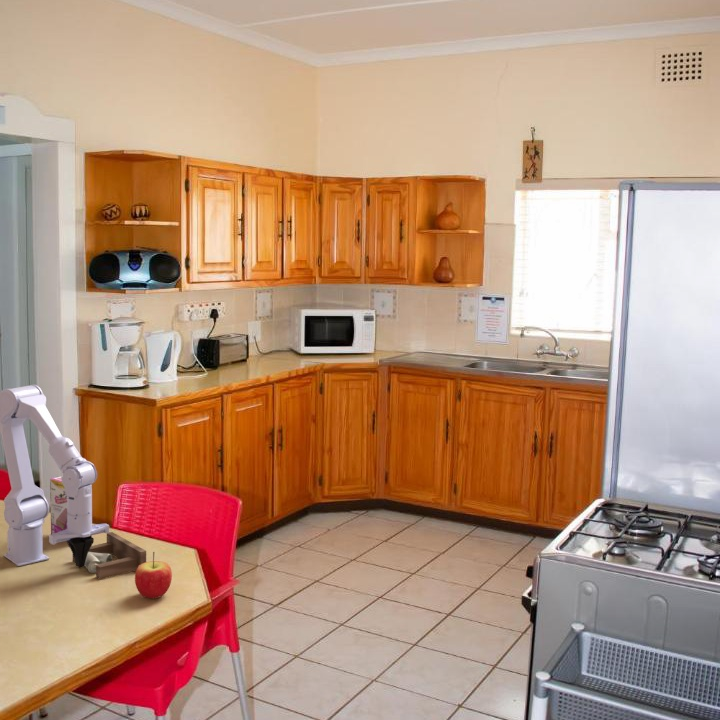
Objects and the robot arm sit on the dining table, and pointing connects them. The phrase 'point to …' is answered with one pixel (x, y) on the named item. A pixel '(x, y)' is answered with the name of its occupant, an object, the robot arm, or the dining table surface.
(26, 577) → the dining table surface
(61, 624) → the dining table surface
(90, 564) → the pipe fitting
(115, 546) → the fitting jig
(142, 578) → the apple
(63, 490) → the candy bar box
